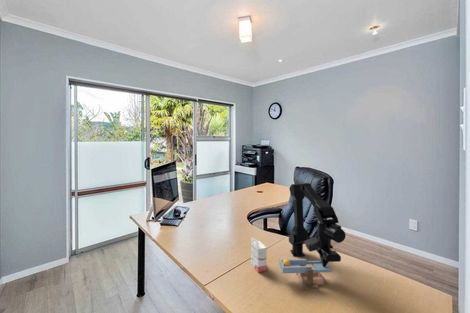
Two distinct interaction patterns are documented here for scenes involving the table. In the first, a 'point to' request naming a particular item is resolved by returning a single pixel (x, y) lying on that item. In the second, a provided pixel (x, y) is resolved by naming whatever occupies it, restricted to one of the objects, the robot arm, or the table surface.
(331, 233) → the robot arm
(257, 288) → the table surface
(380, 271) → the table surface
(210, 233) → the table surface
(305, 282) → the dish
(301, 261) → the lever
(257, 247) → the ink cartridge box
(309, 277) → the stand
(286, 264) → the ball
